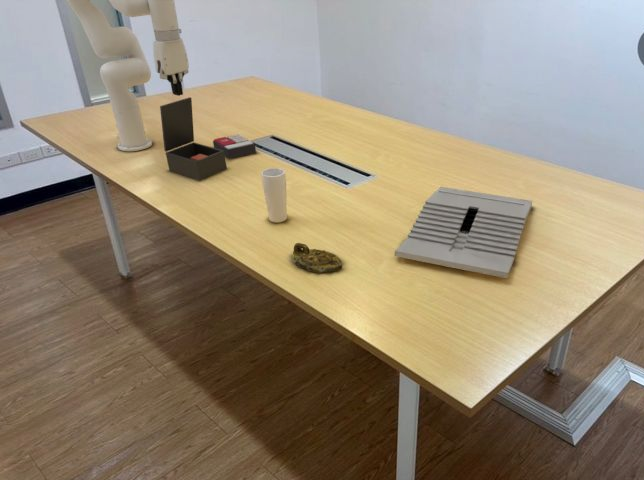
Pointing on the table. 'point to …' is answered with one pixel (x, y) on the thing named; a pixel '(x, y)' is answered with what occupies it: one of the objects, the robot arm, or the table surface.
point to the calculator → (234, 146)
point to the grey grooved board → (467, 231)
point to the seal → (315, 259)
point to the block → (198, 157)
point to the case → (194, 169)
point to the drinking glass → (275, 193)
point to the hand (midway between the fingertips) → (178, 94)
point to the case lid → (177, 123)
